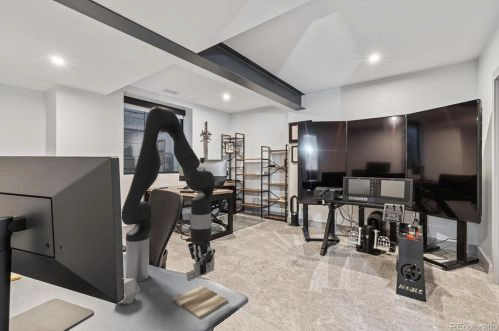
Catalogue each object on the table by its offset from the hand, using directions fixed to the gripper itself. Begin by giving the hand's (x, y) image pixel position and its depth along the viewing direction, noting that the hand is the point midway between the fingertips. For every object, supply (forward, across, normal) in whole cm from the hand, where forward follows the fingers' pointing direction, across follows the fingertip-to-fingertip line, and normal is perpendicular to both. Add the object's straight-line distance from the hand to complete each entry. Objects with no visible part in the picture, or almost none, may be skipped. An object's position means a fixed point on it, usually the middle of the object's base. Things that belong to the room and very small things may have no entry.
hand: (201, 272), depth 87 cm
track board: (+10, 0, 0) cm, 10 cm away
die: (+10, -21, -18) cm, 29 cm away
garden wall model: (+1, 0, 0) cm, 1 cm away
